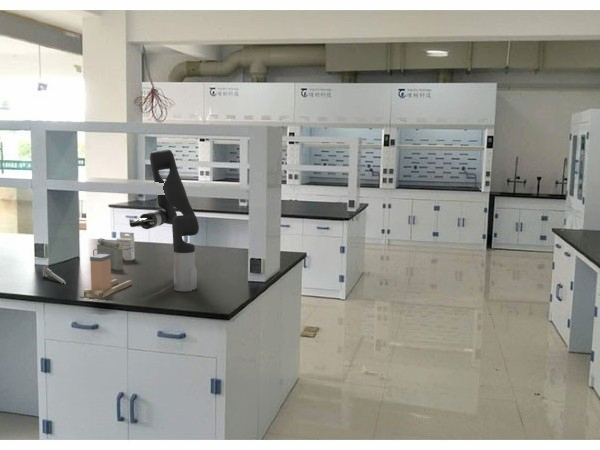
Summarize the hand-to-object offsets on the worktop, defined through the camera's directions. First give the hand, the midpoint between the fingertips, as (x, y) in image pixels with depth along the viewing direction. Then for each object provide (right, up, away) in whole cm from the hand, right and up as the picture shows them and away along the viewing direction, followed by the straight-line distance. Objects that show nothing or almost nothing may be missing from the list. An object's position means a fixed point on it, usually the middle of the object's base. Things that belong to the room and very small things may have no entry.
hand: (131, 224), depth 271 cm
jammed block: (-8, -29, -17) cm, 35 cm away
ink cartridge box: (-20, -19, +58) cm, 64 cm away
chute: (-7, -29, -12) cm, 32 cm away
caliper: (-38, -26, +8) cm, 47 cm away
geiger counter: (-24, -22, +40) cm, 51 cm away
